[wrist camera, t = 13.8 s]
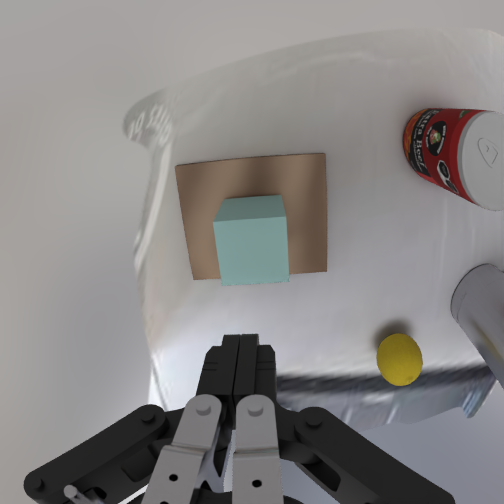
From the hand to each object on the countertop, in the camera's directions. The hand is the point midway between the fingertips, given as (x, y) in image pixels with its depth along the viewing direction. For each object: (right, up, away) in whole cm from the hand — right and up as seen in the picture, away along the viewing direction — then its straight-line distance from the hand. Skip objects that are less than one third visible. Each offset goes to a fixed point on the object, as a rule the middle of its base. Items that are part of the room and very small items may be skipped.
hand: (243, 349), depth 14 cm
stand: (+1, +8, +17) cm, 19 cm away
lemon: (+18, -7, +23) cm, 30 cm away
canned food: (+19, +15, +13) cm, 28 cm away
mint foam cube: (+1, +7, +16) cm, 17 cm away
